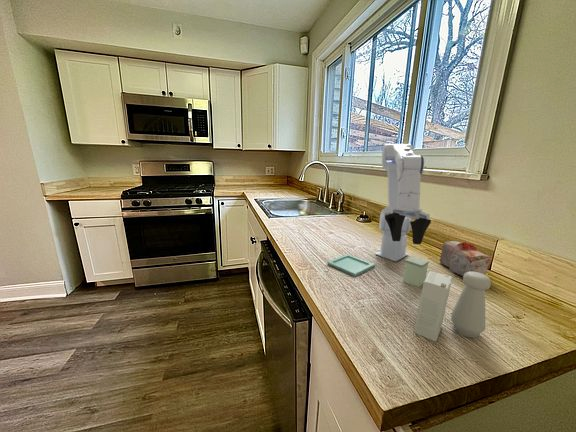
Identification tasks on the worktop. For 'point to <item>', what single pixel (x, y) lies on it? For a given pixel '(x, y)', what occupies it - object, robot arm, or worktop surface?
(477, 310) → the salt shaker
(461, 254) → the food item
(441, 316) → the skincare box
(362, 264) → the tray
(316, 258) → the worktop surface
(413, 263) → the tea tin
